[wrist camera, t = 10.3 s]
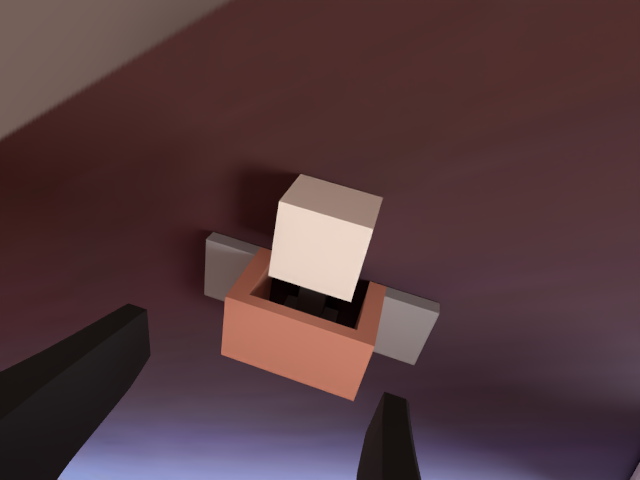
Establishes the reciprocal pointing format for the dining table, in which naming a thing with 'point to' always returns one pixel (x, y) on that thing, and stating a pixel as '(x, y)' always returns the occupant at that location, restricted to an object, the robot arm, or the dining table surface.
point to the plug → (322, 242)
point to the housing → (308, 323)
